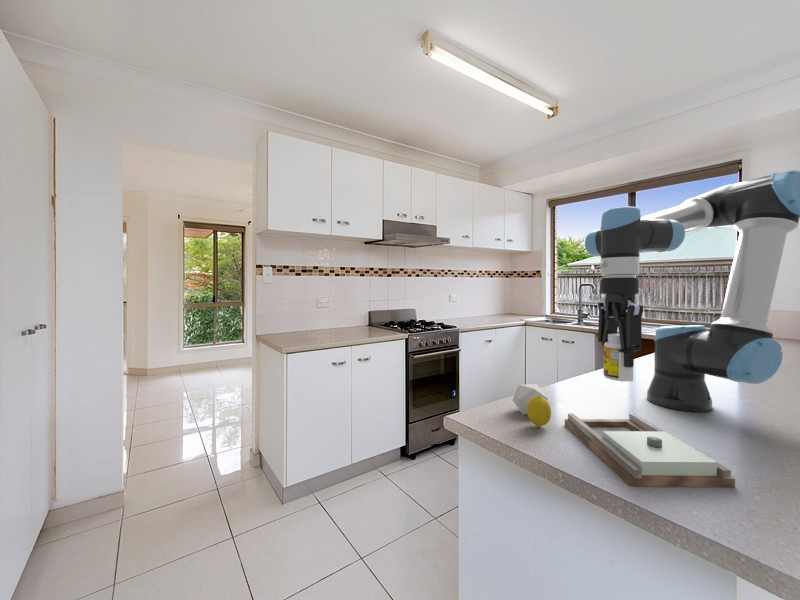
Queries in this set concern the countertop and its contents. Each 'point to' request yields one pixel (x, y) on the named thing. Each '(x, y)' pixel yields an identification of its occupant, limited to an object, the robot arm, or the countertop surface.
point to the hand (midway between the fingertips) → (617, 376)
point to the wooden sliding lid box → (626, 469)
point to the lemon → (539, 411)
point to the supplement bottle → (612, 357)
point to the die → (526, 396)
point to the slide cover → (661, 453)
